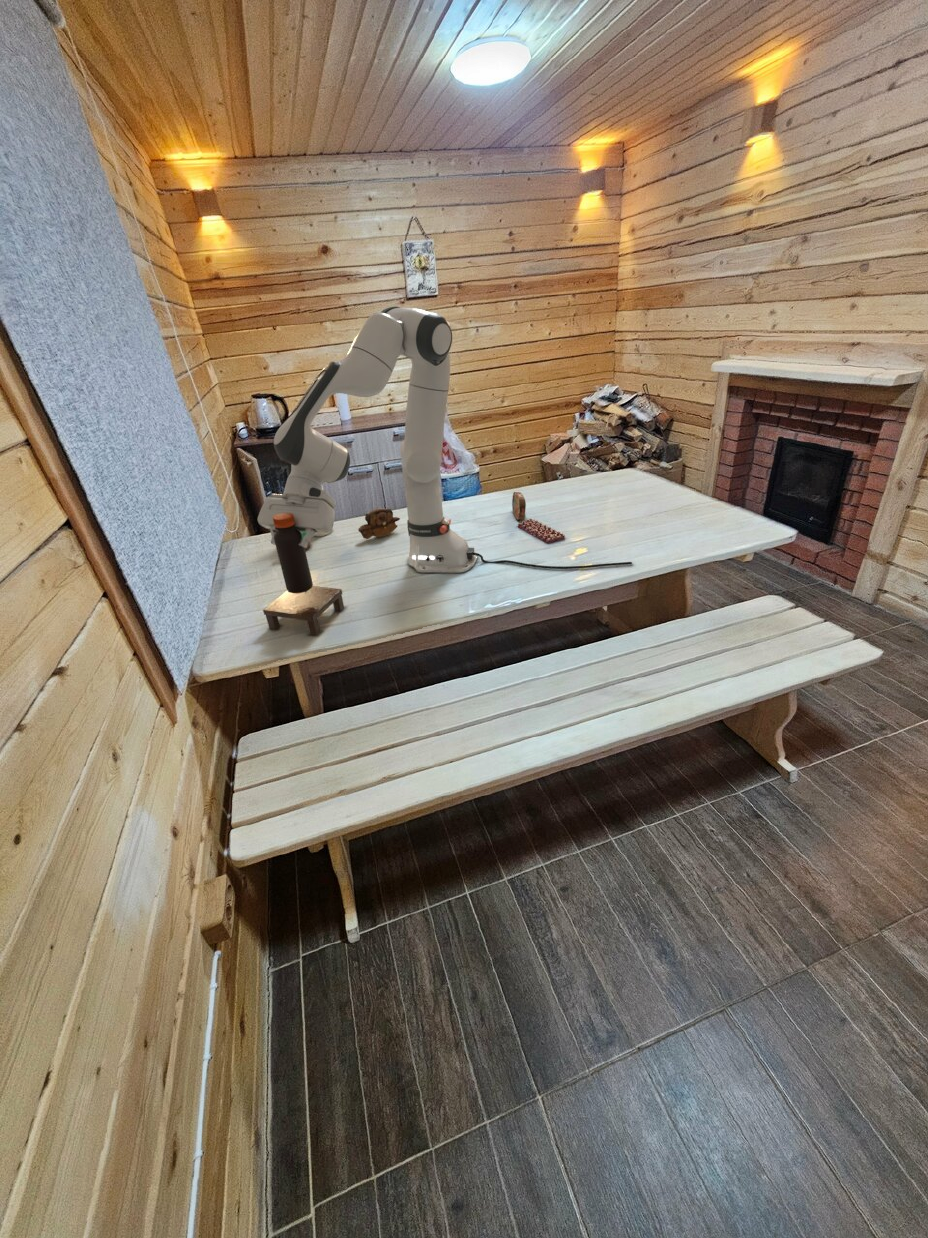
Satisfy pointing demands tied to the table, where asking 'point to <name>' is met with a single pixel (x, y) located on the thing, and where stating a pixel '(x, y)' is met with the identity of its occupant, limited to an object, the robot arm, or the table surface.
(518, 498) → the tin
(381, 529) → the wooden carving
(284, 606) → the stand
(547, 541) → the chocolate bar
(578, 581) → the table surface
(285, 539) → the vinegar
